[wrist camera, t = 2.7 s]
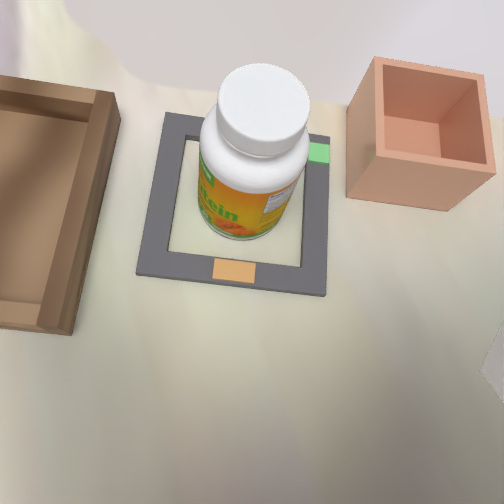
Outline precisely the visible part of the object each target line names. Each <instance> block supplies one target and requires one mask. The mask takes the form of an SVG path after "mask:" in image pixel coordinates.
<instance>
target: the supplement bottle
mask: <svg viewBox="0 0 504 504" xmlns="http://www.w3.org/2000/svg"><path fill="white" fill-rule="evenodd" d="M309 114H310V99H309V96H308V93H307V91H306V89H305V87H304V86H303V84H302V83H301V82H300V81H299V79H297V78H296V77H295V76H294V75H293V74H292V73H290V72H288V71H287V70H285V69H283V68H281V67H278V66H275V65H271V64H263V63H255V64H248V65H244V66H241V67H239V68H237V69H235V70H234V71H233V72H231V73H230V74H229V75H228V76H227V77H226V78H225V79H224V81H223V82H222V84H221V86H220V88H219V92H218V98H217V103H216V104H215V105H214V106H213V107H212V109H211V110H210V111H209V112H208V114H207V116H206V117H205V119H204V121H203V124H202V127H201V132H200V144H199V180H198V204H199V208H200V212H201V214H202V216H203V218H204V220H205V221H206V222H207V224H208V225H209V226H210V227H211V228H212V229H213V230H215V231H216V232H218V233H219V234H221V235H223V236H225V237H228V238H231V239H236V240H249V239H254V238H258V237H260V236H262V235H264V234H266V233H267V232H269V231H270V230H271V229H272V228H273V227H274V226H275V225H276V224H277V223H278V221H279V219H280V218H281V216H282V214H283V212H284V210H285V208H286V205H287V203H288V201H289V199H290V197H291V195H292V192H293V190H294V188H295V186H296V184H297V181H298V179H299V177H300V175H301V173H302V171H303V169H304V166H305V164H306V161H307V158H308V155H309V148H310V140H309V134H308V130H307V127H306V124H307V121H308V118H309Z"/></svg>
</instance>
